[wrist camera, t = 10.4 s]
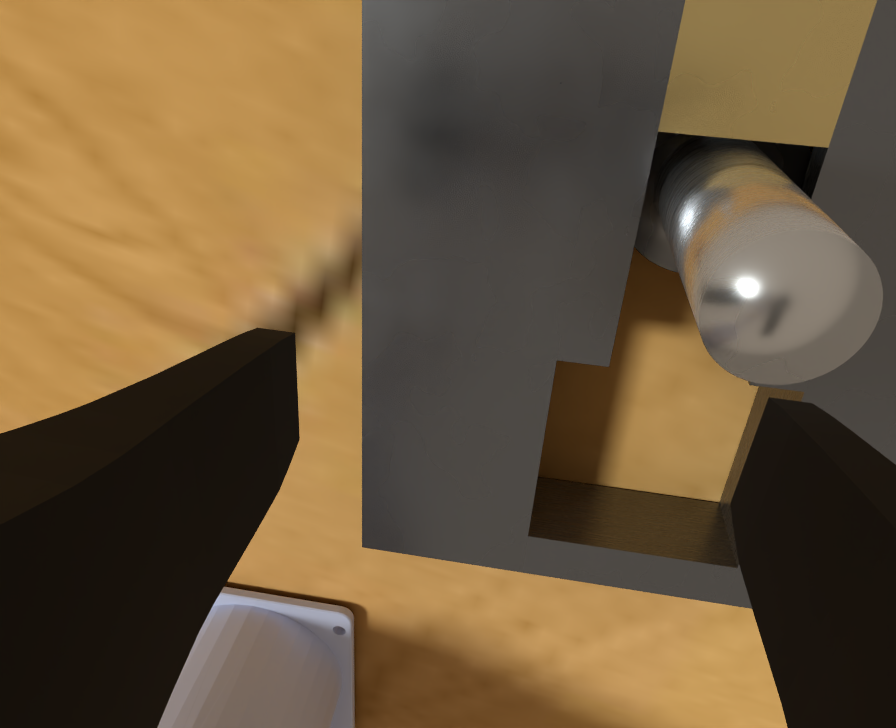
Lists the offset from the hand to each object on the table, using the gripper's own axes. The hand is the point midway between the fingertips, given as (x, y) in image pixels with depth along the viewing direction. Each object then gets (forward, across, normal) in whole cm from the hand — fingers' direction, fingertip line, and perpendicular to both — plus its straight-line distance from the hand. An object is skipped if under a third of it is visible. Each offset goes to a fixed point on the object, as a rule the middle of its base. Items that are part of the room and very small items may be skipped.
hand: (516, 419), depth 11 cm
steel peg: (+9, -4, -2) cm, 10 cm away
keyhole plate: (+9, -4, +2) cm, 10 cm away
